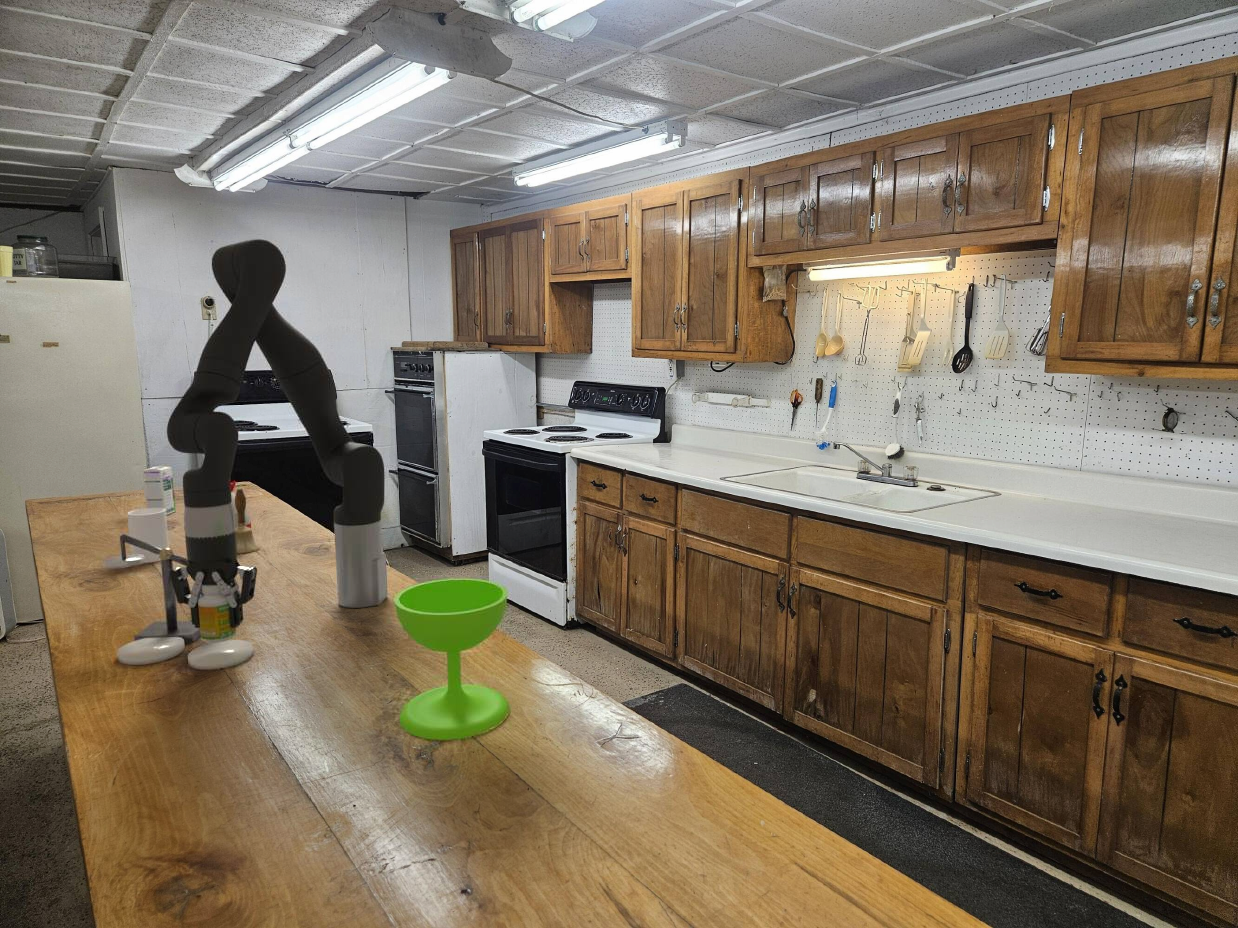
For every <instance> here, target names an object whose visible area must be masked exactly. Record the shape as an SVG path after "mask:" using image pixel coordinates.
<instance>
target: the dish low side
mask: <svg viewBox="0 0 1238 928" xmlns="http://www.w3.org/2000/svg"><path fill="white" fill-rule="evenodd" d="M253 656H254V645H253V643H252V642H250V641H247V640H243V639H229V640H227V641H223V642H216V643H205V644H202V645H200V646H198V647H196V648H194V649H192V650H191V651H190V652H189V653H188V654H187V662H188V663H187V664H188V666H189V667H190V668H192V669H196V670H199V671H200V670H203V671H206V670H207V671H211V670H213V669H214V670H221V669H220V668H222V669H226V668H230V667H233V666H237V665H240V664H242V663H245V662H247V661H248V660H249V659H252V657H253Z"/></svg>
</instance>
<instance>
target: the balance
mask: <svg viewBox="0 0 1238 928" xmlns="http://www.w3.org/2000/svg"><path fill="white" fill-rule="evenodd" d="M119 542H120V550H121V551H120V552H121V554H120V555H114V556H111V557H108V558H105V559H104V560H103V561H102V565H103V566H102V567H104V569H105V568H106V569H124V568H130V567H136V566H139V565H142V564H145V563H144V562H145V556H144V555H141V554H131V553H130V554H127V550H126V549H127V548H126V543H127V544H129V545H130V546H131V545H134V546H137V547H139V548H142V549H144V550H147V551H149V552H152V553H154V554H157V555H158V556H159V558H160V559H161V561H160V566H161V567H160V568H161V577H162V586H163V589H162V590H163V599H164V608H165V609H164V610H165V618H166V619H165V620H166V621H153V622H152V623H151V624H149V625H147V627H145V628H143V629H142V630H141V631H139V632H138V633H137V634H135V635H134V638H133V639H134V641H136V640H140V639H144V638H149V637H176V636H177V637H181V638H183V639H184V644H185V643H195V642H196V641H197V640H198V639H199V638H201V634H200V628H195V625H193V624H192V620H186V621H185V620H184V621H181V620H180V621H179V619H178V617H179V616H178V610H177V609H178V608H177V598H176V595H175V591H174V588H173V584H172V581H171V577H170V574H169V573H170V571H171V570H173V569H174V564H173V562H175V563H177V564H179V565H181V566H184V567H186V566H187V565H188V558H187V557H186V558H185V557H183V556H181V555H177V554H175V552H174V551H173V550H172V548H170V547H169V548H163V549H161V548H158V547H155V546H153V545H150V544H148V543H145V542H143V541H140V540H138V539H135V538H133V537H130V535H129V534H128V535H127V534H124V533H123V534H122V535H119Z"/></svg>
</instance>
